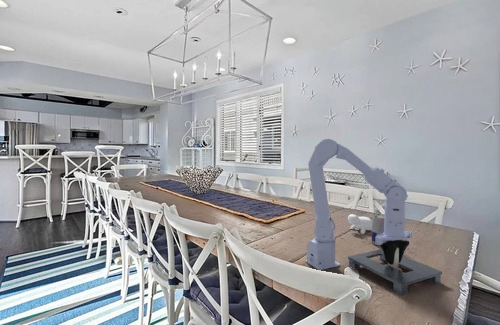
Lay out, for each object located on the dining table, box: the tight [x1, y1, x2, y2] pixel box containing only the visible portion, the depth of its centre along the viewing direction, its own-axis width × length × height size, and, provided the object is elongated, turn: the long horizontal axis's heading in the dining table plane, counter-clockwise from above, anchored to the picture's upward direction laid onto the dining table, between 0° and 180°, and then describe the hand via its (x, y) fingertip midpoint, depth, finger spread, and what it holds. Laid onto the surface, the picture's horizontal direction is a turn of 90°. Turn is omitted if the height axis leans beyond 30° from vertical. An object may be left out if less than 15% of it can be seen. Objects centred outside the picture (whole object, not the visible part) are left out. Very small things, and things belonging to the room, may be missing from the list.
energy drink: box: [371, 214, 385, 247], centre depth 111 cm, size 5×5×12 cm
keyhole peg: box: [387, 247, 403, 272], centre depth 84 cm, size 5×5×8 cm
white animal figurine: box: [347, 213, 372, 235], centre depth 129 cm, size 9×8×15 cm
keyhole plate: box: [347, 248, 443, 296], centre depth 84 cm, size 18×20×3 cm
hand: (393, 262), depth 84 cm, fingers closed on keyhole peg, 3 cm apart
